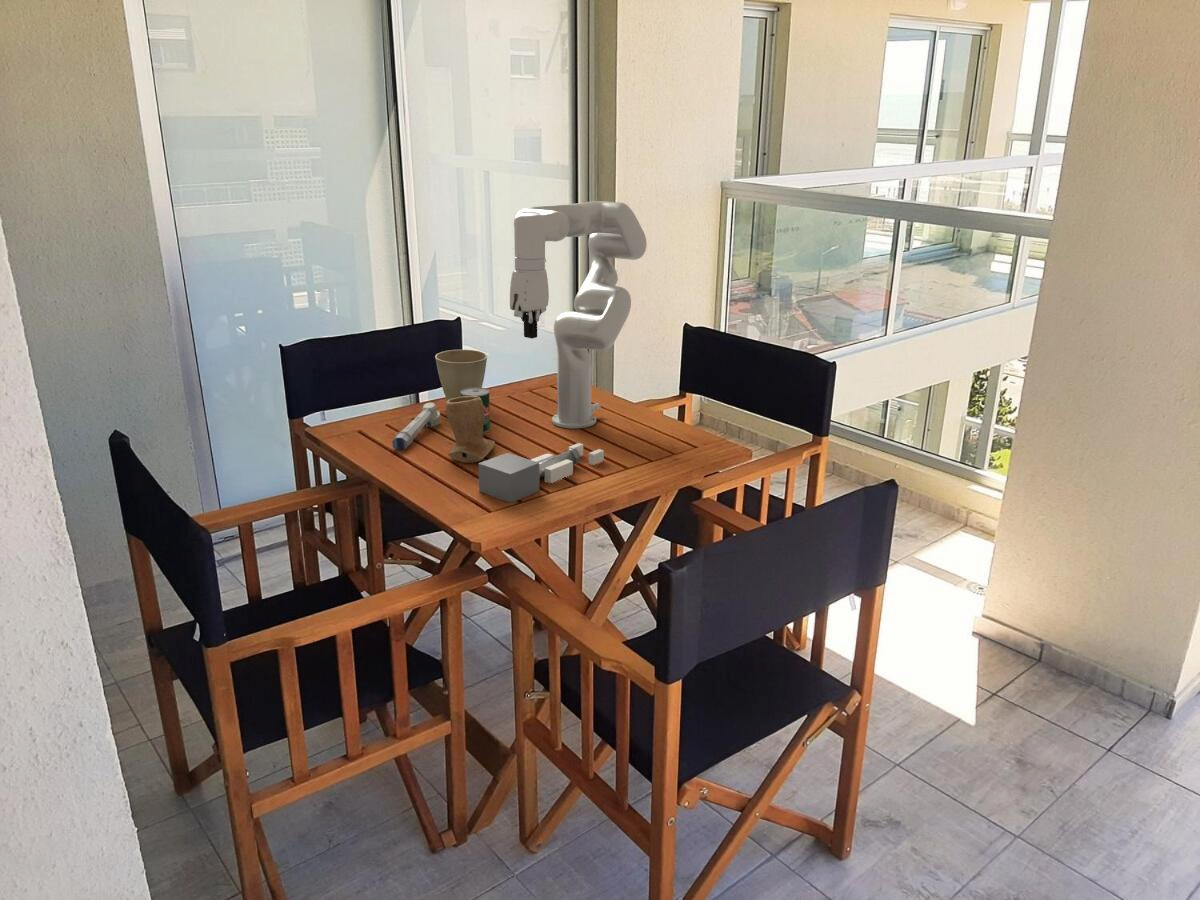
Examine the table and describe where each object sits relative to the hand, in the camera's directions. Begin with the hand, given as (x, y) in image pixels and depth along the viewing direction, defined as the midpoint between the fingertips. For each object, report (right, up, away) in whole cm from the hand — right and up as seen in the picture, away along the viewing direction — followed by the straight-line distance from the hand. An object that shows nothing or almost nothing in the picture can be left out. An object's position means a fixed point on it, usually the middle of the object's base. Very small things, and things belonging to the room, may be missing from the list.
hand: (530, 337), depth 238 cm
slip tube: (+4, -35, -12) cm, 37 cm away
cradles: (+9, -33, -6) cm, 35 cm away
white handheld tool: (-32, -25, +16) cm, 44 cm away
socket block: (-3, -38, -20) cm, 43 cm away
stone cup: (-16, -30, +3) cm, 34 cm away
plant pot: (-23, -16, +39) cm, 48 cm away
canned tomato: (-17, -23, +21) cm, 35 cm away
